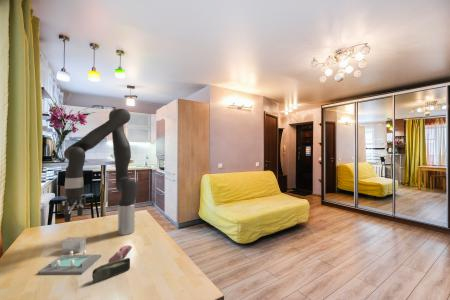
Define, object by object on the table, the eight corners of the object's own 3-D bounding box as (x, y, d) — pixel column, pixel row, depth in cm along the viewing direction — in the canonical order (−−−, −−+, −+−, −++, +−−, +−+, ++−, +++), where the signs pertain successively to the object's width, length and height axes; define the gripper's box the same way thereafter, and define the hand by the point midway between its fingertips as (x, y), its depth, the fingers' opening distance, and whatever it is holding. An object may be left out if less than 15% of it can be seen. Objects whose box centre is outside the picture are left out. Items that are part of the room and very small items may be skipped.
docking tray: (62, 256, 95) (62, 248, 95) (101, 256, 95) (101, 248, 95) (37, 274, 82) (37, 264, 82) (82, 273, 82) (82, 264, 82)
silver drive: (68, 248, 103) (68, 237, 103) (85, 248, 103) (85, 237, 103) (61, 252, 99) (61, 240, 99) (80, 252, 99) (80, 240, 99)
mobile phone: (128, 256, 88) (87, 269, 77) (131, 258, 85) (89, 272, 75) (128, 267, 88) (87, 282, 77) (130, 270, 85) (88, 286, 75)
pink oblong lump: (114, 268, 89) (120, 255, 88) (106, 262, 90) (112, 249, 89) (129, 256, 98) (135, 244, 98) (122, 251, 99) (127, 239, 99)
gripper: (71, 189, 94) (71, 223, 94) (91, 184, 108) (90, 213, 108) (55, 189, 93) (54, 223, 94) (76, 183, 108) (76, 213, 108)
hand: (74, 218), depth 101 cm, fingers open, 8 cm apart
